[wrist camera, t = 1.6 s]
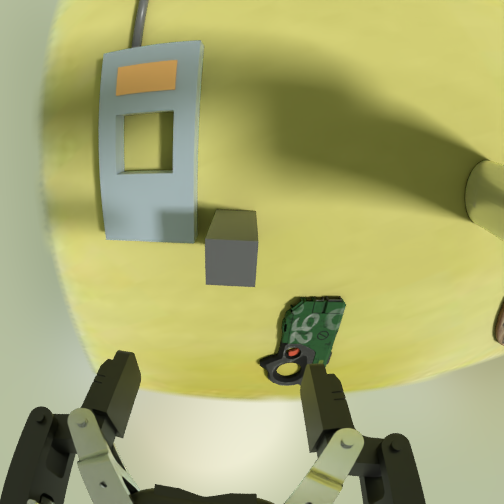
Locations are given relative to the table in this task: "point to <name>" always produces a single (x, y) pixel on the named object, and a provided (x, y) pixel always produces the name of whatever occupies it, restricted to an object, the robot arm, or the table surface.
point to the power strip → (184, 138)
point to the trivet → (500, 326)
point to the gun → (306, 337)
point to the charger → (232, 249)
